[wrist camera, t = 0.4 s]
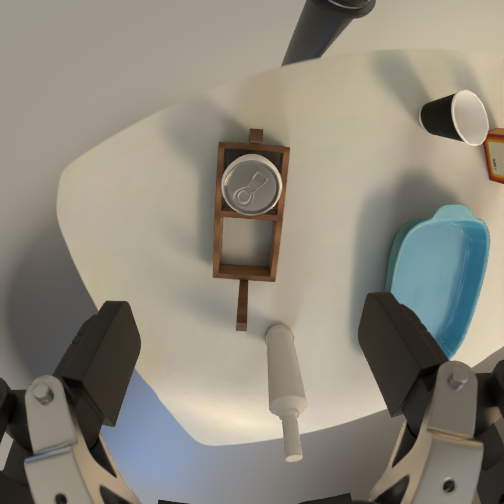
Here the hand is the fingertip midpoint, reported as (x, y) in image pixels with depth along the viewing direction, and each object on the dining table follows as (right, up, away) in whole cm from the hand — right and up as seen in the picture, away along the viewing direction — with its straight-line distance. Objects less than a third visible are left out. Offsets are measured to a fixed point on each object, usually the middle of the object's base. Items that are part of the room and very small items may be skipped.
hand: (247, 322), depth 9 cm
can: (0, +13, +29) cm, 32 cm away
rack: (0, +8, +31) cm, 32 cm away
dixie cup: (+29, +24, +25) cm, 45 cm away
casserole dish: (+33, -5, +37) cm, 49 cm away
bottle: (+5, -13, +40) cm, 42 cm away
